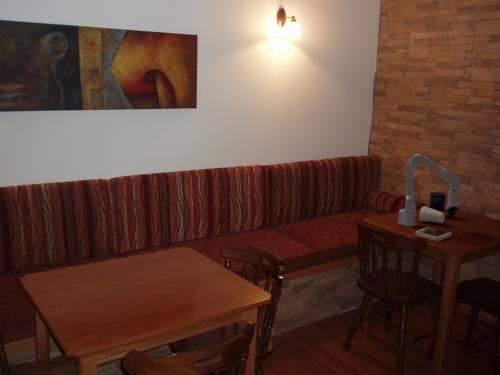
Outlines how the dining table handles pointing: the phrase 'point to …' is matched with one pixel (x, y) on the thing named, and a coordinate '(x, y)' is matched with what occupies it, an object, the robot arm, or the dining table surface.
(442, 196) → the green-striped black cylinder
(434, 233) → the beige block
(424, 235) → the bay
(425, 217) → the foam cup
